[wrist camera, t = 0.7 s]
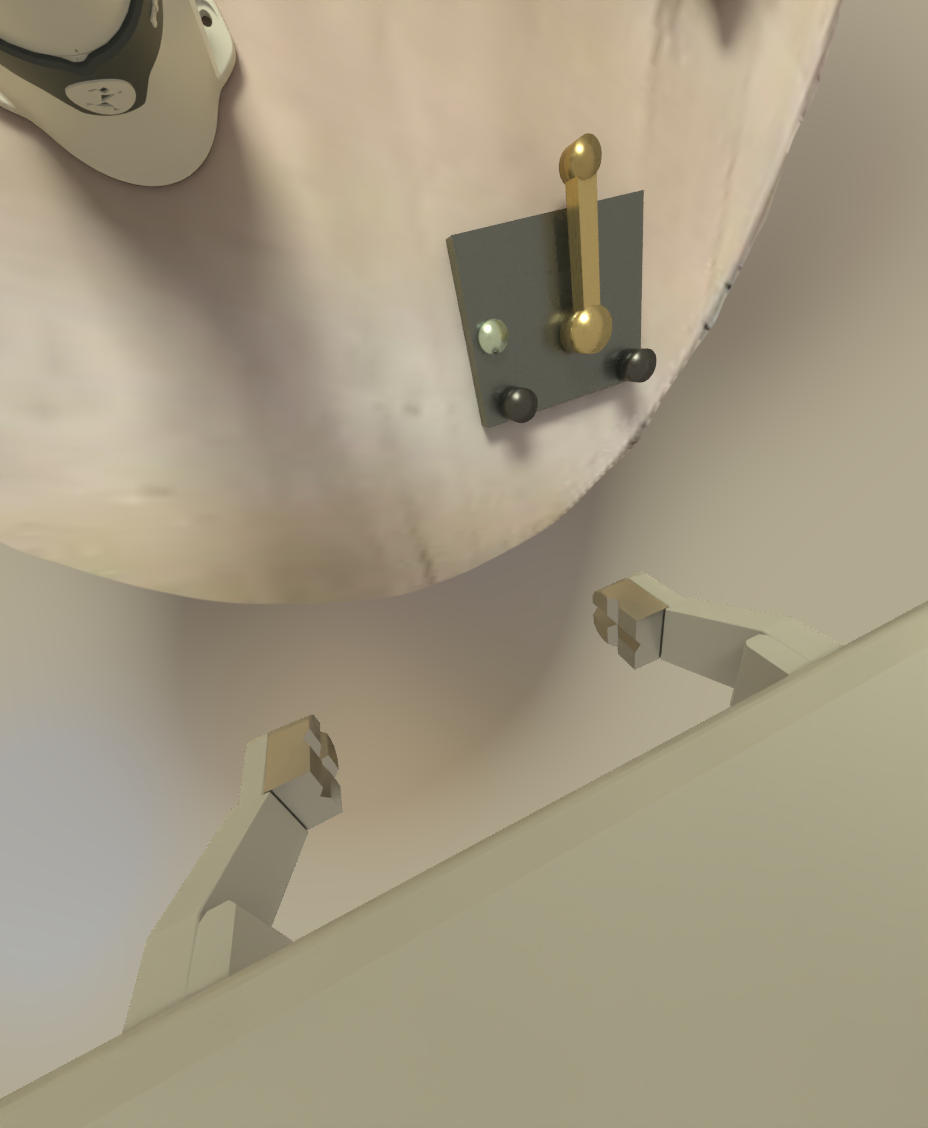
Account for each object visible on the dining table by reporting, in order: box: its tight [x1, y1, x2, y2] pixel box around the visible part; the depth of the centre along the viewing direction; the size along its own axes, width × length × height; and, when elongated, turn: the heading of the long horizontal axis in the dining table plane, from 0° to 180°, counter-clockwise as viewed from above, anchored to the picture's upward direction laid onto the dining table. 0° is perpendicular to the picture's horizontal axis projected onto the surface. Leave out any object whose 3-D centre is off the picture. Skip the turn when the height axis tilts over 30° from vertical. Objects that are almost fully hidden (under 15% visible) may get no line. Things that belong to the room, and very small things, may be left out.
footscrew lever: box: [559, 133, 612, 354], centre depth 44 cm, size 19×5×4 cm, turn 14°
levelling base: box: [446, 190, 656, 428], centre depth 48 cm, size 20×24×5 cm
